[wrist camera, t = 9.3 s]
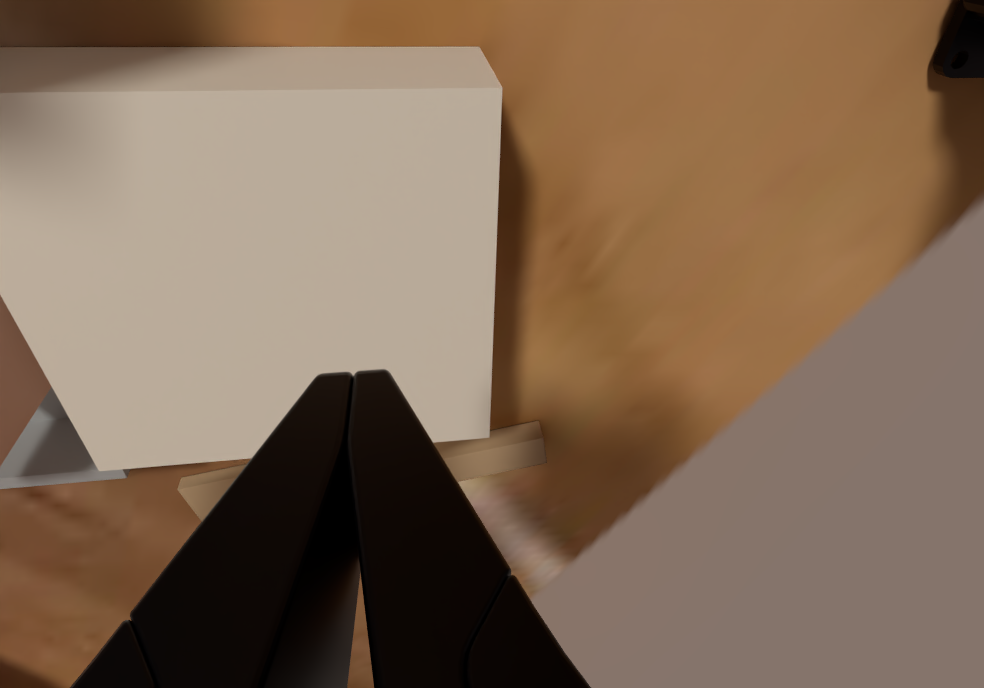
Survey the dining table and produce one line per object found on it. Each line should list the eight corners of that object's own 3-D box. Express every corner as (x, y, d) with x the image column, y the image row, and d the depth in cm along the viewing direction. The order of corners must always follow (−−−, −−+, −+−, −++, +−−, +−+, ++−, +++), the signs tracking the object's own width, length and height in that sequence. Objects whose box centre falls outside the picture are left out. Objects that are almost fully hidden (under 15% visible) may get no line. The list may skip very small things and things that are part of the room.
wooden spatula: (536, 404, 25) (541, 421, 24) (544, 460, 27) (548, 477, 26) (181, 477, 25) (174, 497, 24) (218, 528, 27) (214, 548, 26)
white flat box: (479, 46, 16) (502, 87, 13) (474, 361, 23) (489, 437, 20) (-8, 47, 15) (-113, 94, 12) (140, 384, 21) (99, 471, 18)
